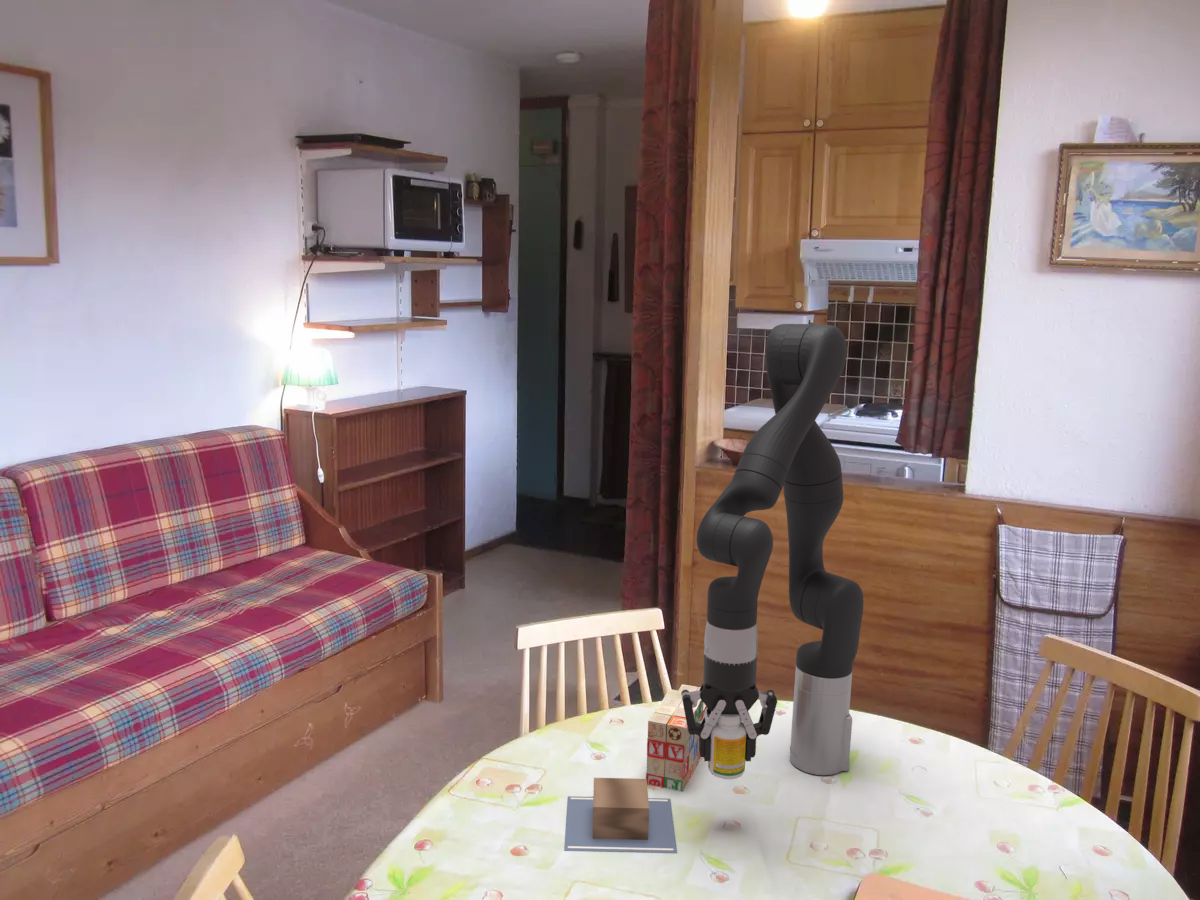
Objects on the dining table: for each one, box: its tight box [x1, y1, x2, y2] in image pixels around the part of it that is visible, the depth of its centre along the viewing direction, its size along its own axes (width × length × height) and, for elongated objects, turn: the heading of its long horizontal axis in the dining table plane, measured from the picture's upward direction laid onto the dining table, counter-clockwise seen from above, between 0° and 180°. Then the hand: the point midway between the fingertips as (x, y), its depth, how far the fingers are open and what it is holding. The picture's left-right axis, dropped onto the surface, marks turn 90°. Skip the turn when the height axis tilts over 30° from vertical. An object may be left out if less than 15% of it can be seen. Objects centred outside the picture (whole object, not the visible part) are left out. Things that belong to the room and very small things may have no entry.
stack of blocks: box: [645, 683, 707, 792], centre depth 161 cm, size 21×6×12 cm, turn 160°
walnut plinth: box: [592, 777, 649, 840], centre depth 141 cm, size 8×8×5 cm
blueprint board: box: [563, 795, 678, 854], centre depth 142 cm, size 16×14×1 cm
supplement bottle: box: [707, 714, 747, 780], centre depth 139 cm, size 5×5×10 cm
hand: (726, 758), depth 140 cm, fingers closed on supplement bottle, 5 cm apart
